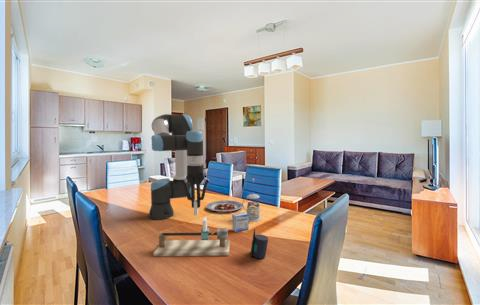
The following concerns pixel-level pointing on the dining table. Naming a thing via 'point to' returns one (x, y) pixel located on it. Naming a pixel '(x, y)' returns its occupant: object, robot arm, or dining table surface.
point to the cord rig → (194, 245)
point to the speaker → (259, 246)
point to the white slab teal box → (204, 230)
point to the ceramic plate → (224, 206)
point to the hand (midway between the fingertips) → (196, 214)
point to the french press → (251, 215)
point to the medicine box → (240, 222)
